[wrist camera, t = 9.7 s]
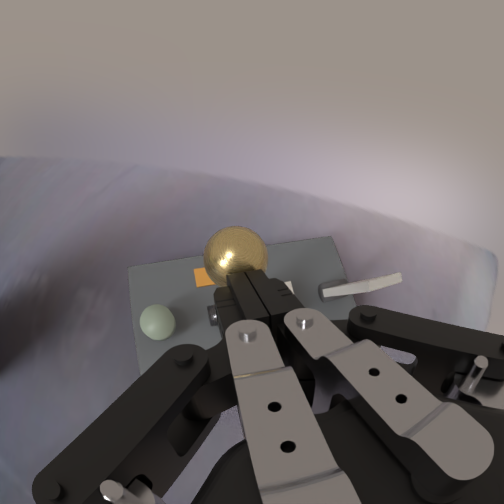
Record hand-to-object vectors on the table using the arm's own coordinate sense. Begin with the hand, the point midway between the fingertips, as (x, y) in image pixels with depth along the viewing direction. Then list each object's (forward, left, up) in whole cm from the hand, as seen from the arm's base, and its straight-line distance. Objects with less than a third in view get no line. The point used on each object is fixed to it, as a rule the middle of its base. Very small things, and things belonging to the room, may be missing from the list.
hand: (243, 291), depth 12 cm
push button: (-5, -3, -16) cm, 17 cm away
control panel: (0, +4, -19) cm, 19 cm away
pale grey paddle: (+5, +11, -14) cm, 19 cm away
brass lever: (-2, +1, -14) cm, 14 cm away
